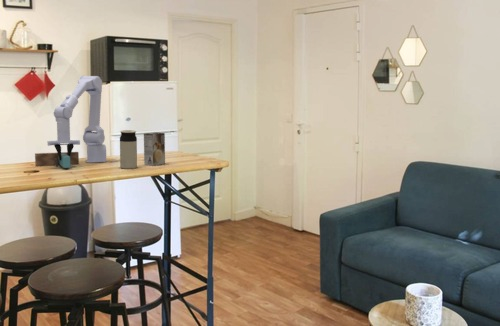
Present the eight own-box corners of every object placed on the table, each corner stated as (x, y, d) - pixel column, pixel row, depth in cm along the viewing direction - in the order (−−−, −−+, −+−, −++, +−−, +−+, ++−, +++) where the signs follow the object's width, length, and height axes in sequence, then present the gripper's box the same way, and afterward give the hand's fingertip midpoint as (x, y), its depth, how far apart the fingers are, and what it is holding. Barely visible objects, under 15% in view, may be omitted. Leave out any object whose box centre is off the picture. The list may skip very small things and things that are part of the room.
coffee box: (156, 162, 269) (155, 132, 267) (165, 164, 266) (165, 132, 263) (143, 164, 261) (143, 133, 259) (153, 166, 258) (152, 134, 256)
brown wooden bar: (77, 163, 261) (77, 151, 260) (80, 165, 255) (79, 153, 255) (35, 165, 252) (34, 153, 251) (36, 167, 246) (36, 155, 245)
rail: (65, 163, 255) (65, 153, 254) (70, 167, 242) (70, 156, 242) (58, 163, 253) (58, 153, 253) (63, 167, 241) (63, 157, 240)
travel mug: (120, 169, 246) (119, 131, 244) (120, 166, 254) (119, 130, 251) (137, 168, 248) (137, 131, 246) (136, 166, 256) (136, 130, 253)
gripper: (48, 132, 238) (49, 161, 240) (80, 132, 245) (81, 160, 247) (46, 131, 245) (47, 159, 247) (78, 130, 251) (78, 158, 253)
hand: (64, 159), depth 247 cm, fingers closed on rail, 3 cm apart
